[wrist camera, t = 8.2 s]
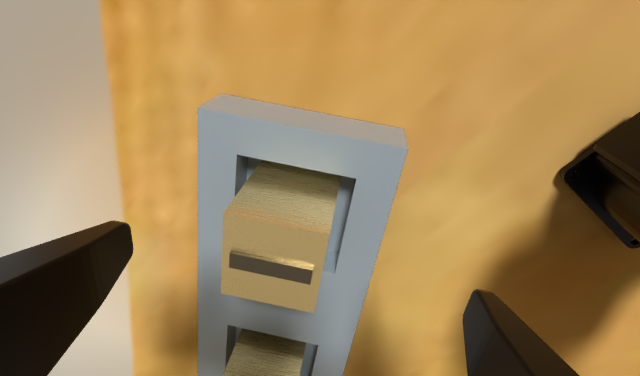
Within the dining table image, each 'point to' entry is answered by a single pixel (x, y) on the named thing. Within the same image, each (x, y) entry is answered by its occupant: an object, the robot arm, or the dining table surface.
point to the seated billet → (265, 355)
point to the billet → (278, 235)
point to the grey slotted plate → (345, 236)
